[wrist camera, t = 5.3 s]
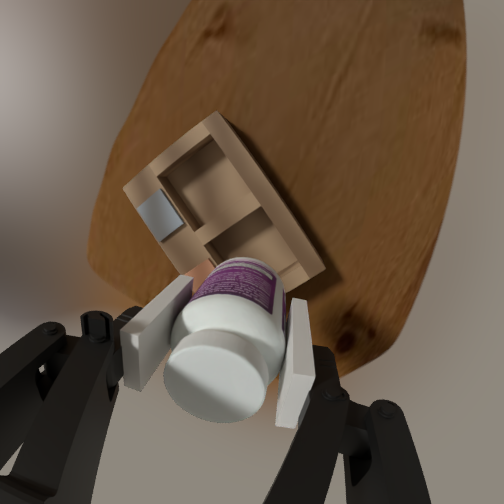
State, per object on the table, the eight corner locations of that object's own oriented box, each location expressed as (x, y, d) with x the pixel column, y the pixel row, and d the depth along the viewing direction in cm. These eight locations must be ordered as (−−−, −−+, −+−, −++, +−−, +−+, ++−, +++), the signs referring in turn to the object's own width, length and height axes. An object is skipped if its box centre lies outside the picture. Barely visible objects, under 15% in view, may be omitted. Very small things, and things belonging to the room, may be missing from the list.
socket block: (225, 117, 27) (215, 109, 24) (321, 258, 30) (326, 270, 26) (138, 186, 30) (120, 188, 26) (228, 315, 32) (221, 331, 29)
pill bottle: (190, 285, 19) (120, 364, 10) (252, 238, 18) (217, 298, 9) (239, 343, 20) (207, 446, 11) (302, 304, 19) (311, 405, 10)
